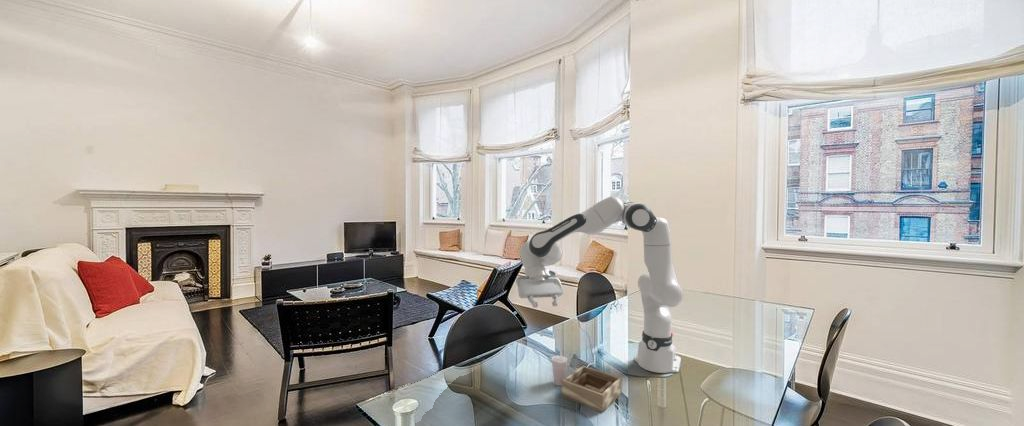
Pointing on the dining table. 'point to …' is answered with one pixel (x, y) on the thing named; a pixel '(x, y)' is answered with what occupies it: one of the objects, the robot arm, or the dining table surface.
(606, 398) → the open wooden box
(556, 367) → the smoothie
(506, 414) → the dining table surface
